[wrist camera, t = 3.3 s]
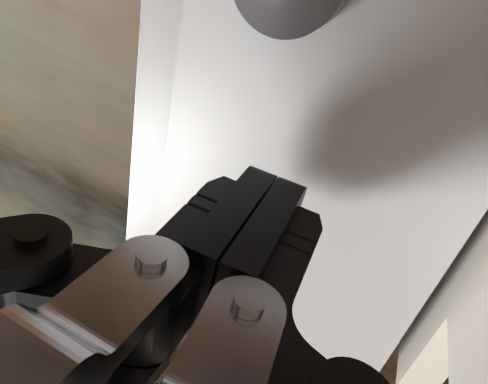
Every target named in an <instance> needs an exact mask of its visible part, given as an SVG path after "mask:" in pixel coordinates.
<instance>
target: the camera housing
mask: <svg viewBox="0 0 488 384" xmlns="http://www.w3.org/2000/svg"><path fill="white" fill-rule="evenodd" d="M249 166H253V167H256V168H258V169H261V170H264V171H266V172H269V173H271V174H274V175H276V176H278V177H282V178H284V179H287V180H289V181H292V182H295V183H297V184H300V185H302V186H305V187H307V190H306V193H305V196H304V199H303V202H302V205H301V207H303V208H305V209H308V210H310V211H313V212H315V213H318V214H319V215H320V219H321V223H322V227H323V230H322V233H321V235H320V238H319V240H318V243H317V245H316V248H315V250H314V253H313V255H312V258H311V260H310V262H309V265H308V267H307V270H306V272H305V275H304V277H303V280H302V282H301V285H300V287H299V290H298V292H297V294H296V297H295V299H294V302H293V307H292V314H293V319H294V322H295V325H296V327H297V329H298V331H299V332H300V334H301V335H302V337H303V338H304V339H305V340H306V341H307V342H308V343H309V344H310V345H311V346H312V347H313V348H314V349H315V350H317V351H318V352H319V353H320V354H321V355H323V356H324V357H325V358H326V359H329V358H333V357H342V356H343V357H351V358H354V359H358V360H360V361H362V362H365V363H366V364H368V365H370V366H371V367H373V368H374V369H376V370H377V371H378V372H380V370H381V369H382V367H383V366H384V364H385V363H386V361H387V360H388V358H389V357H390V355H391V354H392V352H393V351H394V349H395V348H396V346H397V345H398V343H399V342H400V340H401V339H402V337H403V336H404V334H405V333H406V331H407V330H408V328H409V327H410V325H411V324H412V322H413V321H414V319H415V318H416V316H417V315H418V313H419V312H420V310H421V309H422V307H423V306H424V304H425V303H426V301H427V300H428V298H429V297H430V295H431V294H432V292H433V291H434V289H435V288H436V286H437V285H438V283H439V282H440V280H441V279H442V277H443V275H444V274H445V272H446V271H447V269H448V268H449V266H450V265H451V263H452V262H453V260H454V259H455V257H456V256H457V254H458V253H459V251H460V250H461V248H462V247H463V245H464V244H465V242H466V241H467V239H468V238H469V236H470V235H471V233H472V232H473V230H474V229H475V227H476V226H477V224H478V223H479V221H480V220H481V218H482V217H483V215H484V214H485V212H486V211H487V209H488V0H141V15H140V30H139V45H138V61H137V76H136V92H135V107H134V123H133V138H132V154H131V169H130V184H129V200H128V215H127V231H126V240H128V239H130V238H133V237H136V236H141V235H155V234H156V233H157V232H158V231H159V230H160V229H161V228H162V227H163V226H164V225H165V224H166V223H167V222H168V221H169V220H170V219H171V218H172V217H173V216H174V215H175V214H176V213H177V212H178V211H179V210H180V209H181V208H182V207H183V206H184V205H185V204H187V203H188V201H189V200H190V199H191V198H192V197H193V196H194V195H196V193H197V192H198V191H199V190H200V189H201V188H202V187H203V186H204V185H205V184H206V183H207V182H209V181H211V180H214V179H217V178H219V177H222V176H225V177H228V178H230V179H233V180H235V181H236V180H237V179H238V178H239V177H240V176H241V175H242V174H243V172H244V171H245V170H246V169H247V168H248V167H249Z"/></svg>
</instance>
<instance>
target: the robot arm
mask: <svg viewBox="0 0 488 384" xmlns="http://www.w3.org/2000/svg"><path fill="white" fill-rule="evenodd" d="M306 190H307V187H305V186H302V185H300V184H297V183H295V182H292V181H289V180H287V179H284V178H282V177H278V176H276V175H274V174H271V173H269V172H266V171H264V170H261V169H258V168H256V167H253V166H249V167H248V168H247V169H246V170H245V171H244V172H243V174H242V175H241V176H240V177H239V178H238V179H237V180H236V181H235V180H233V179H230V178H228V177H225V176H222V177H219V178H217V179H214V180H211V181H209V182H207V183H206V184H205V185H204V186H203V187H202V188H201V189H200V190H199V191H198V192H197V193H196V195H194V196H193V197H192V198H191V199H190V200H189V201H188V203H187V204H185V205H184V206H183V207H182V208H181V209H180V210H179V211H178V212H177V213H176V214H175V215H174V216H173V217H172V218H171V219H170V220H169V221H168V222H167V223H166V224H165V225H164V226H163V227H162V228H161V229H160V230H159V231H158V232H157V233H156V234H155V235H141V236H136V237H133V238H130V239H128V240H126V241H124V242H123V243H121V244H120V245H119V246H117V247H116V248H115V249H114V250H111V249H102V248H97V247H91V246H85V245H80V244H74V243H73V240H72V231H71V229H70V227H69V226H68V225H67V223H65V222H64V221H63V220H61V219H59V218H57V217H54V216H50V215H46V214H25V215H18V216H11V217H4V218H0V384H155V382H156V381H157V380H158V378H159V377H160V376H161V375H162V373H163V372H164V371H165V369H166V368H167V367H168V365H169V363H170V361H171V359H172V354H173V352H174V350H175V349H176V347H177V346H178V344H179V343H180V341H181V340H182V338H183V337H184V335H185V334H186V335H187V337H186V339H185V341H184V342H183V344H182V346H181V348H180V350H179V352H178V354H177V356H176V357H175V359H174V361H173V363H172V365H171V367H170V369H169V371H168V372H167V374H166V376H165V378H164V379H163V381H162V382H161V383H160V384H389V382H388V381H387V380H386V379H385V378H384V377H383V376H382V375H381V374H380V373H379V372H378V371H377V370H376V369H374V368H373V367H371V366H370V365H368V364H366V363H365V362H362V361H360V360H358V359H354V358H351V357H343V356H342V357H333V358H329V359H326V358H325V357H324V356H323V355H321V354H320V353H319V352H318V351H317V350H315V349H314V348H313V347H312V346H311V345H310V344H309V343H308V342H307V341H306V340H305V339H304V338H303V337H302V335H301V334H300V332H299V331H298V329H297V327H296V325H295V322H294V319H293V314H292V307H293V302H294V299H295V297H296V294H297V292H298V290H299V287H300V285H301V282H302V280H303V277H304V275H305V272H306V270H307V267H308V265H309V262H310V260H311V258H312V255H313V253H314V250H315V248H316V245H317V243H318V240H319V238H320V235H321V233H322V230H323V227H322V223H321V219H320V215H319V214H318V213H315V212H313V211H310V210H308V209H305V208H303V207H301V205H302V202H303V199H304V196H305V193H306ZM156 384H158V383H156Z"/></svg>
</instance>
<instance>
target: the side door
mask: <svg viewBox="0 0 488 384" xmlns="http://www.w3.org/2000/svg"><path fill="white" fill-rule="evenodd" d="M448 376H449V384H488V209H487V211H486V212H485V214H484V215H483V217H482V218H481V220H480V221H479V223H478V224H477V226H476V227H475V229H474V230H473V232H472V233H471V235H470V236H469V238H468V239H467V241H466V242H465V244H464V245H463V247H462V248H461V250H460V251H459V253H458V254H457V256H456V257H455V259H454V260H453V262H452V263H451V265H450V266H449V268H448V269H447V271H446V272H445V274H444V275H443V277H442V279H441V280H440V282H439V283H438V285H437V286H436V288H435V289H434V291H433V292H432V294H431V295H430V297H429V298H428V300H427V301H426V303H425V304H424V306H423V307H422V309H421V310H420V312H419V313H418V315H417V316H416V318H415V319H414V321H413V322H412V324H411V325H410V327H409V328H408V330H407V331H406V333H405V334H404V336H403V337H402V339H401V340H400V343H399V354H398V365H397V376H396V384H442V383H443V382H444V381H445V380H446V378H447V377H448Z"/></svg>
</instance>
